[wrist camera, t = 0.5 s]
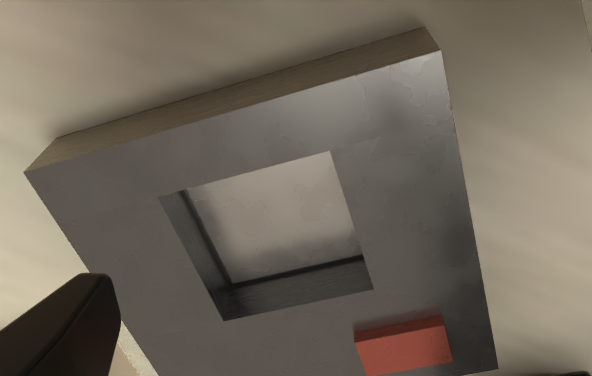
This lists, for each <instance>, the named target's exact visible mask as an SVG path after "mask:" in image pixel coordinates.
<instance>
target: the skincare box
mask: <svg viewBox="0 0 592 376" xmlns="http://www.w3.org/2000/svg"><path fill="white" fill-rule="evenodd" d="M581 3H582V8H583V12H584V17H585V22H586V26H587V31H588V36H589V40H590V45H591V50H592V0H581Z"/></svg>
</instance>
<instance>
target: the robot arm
mask: <svg viewBox="0 0 592 376" xmlns="http://www.w3.org/2000/svg"><path fill="white" fill-rule="evenodd" d="M120 326H121V313H120V309H119V305H118V301H117V297H116V293H115V289H114V286H113V282H112V279H111V277H110V276H109V275H108V274H105V273H81V274H78V275H77V276H75V277H74V278H72V279H71V280H69V281H68V282H67V283H65V284H64V285H63V286H61V287H60V288H58V289H57V290H56V291H54V292H53V293H52V294H50V295H49V296H47V297H46V298H45V299H43V300H42V301H40V302H39V303H38V304H36V305H35V306H34V307H32V308H31V309H29V310H28V311H27V312H25V313H24V314H23V315H21V316H20V317H18V318H17V319H16V320H14V321H13V322H11V323H10V324H9V325H7V326H6V327H5V328H3V329H2V330H0V376H109V372H110V368H111V364H112V360H113V356H114V352H115V348H116V344H117V340H118V336H119V332H120ZM575 376H591V375H588V374H581V375H575Z"/></svg>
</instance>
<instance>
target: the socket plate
mask: <svg viewBox="0 0 592 376" xmlns="http://www.w3.org/2000/svg"><path fill="white" fill-rule="evenodd" d="M23 173H24V174H25V176H26V177H27V179H28V180H29V182H30V183H31V185H32V186H33V188H34V189H35V191H36V192H37V194H38V195H39V197H40V198H41V200H42V201H43V203H44V204H45V206H46V207H47V209H48V210H49V212H50V213H51V215H52V216H53V218H54V219H55V221H56V222H57V224H58V225H59V227H60V228H61V230H62V231H63V233H64V234H65V236H66V237H67V239H68V240H69V242H70V243H71V245H72V246H73V248H74V249H75V251H76V252H77V254H78V255H79V257H80V258H81V260H82V261H83V263H84V264H85V266H86V267H87V269H88V270H89V272H90V273H105V274H108V275H109V276H110V277H111V279H112V282H113V286H114V289H115V293H116V297H117V301H118V305H119V309H120V313H121V320H122V321H123V323H124V324H125V326H126V327H127V329H128V330H129V332H130V333H131V335H132V336H133V338H134V339H135V341H136V342H137V344H138V345H139V347H140V348H141V350H142V351H143V353H144V354H145V356H146V357H147V359H148V360H149V362H150V363H151V365H152V366H153V368H154V369H155V371H156V372H157V374H158V375H159V376H461V375H467V374H473V373H478V372H484V371H490V370H495V369H499V368H498V363H497V357H496V352H495V346H494V340H493V335H492V329H491V324H490V318H489V313H488V307H487V302H486V296H485V291H484V285H483V280H482V274H481V269H480V263H479V257H478V252H477V246H476V241H475V235H474V230H473V224H472V219H471V213H470V208H469V202H468V197H467V191H466V186H465V180H464V175H463V169H462V163H461V158H460V152H459V147H458V141H457V136H456V130H455V125H454V119H453V114H452V108H451V103H450V97H449V92H448V86H447V81H446V75H445V69H444V64H443V58H442V53H441V50H440V48H439V47H438V45H437V44H436V42H435V41H434V39H433V38H432V36H431V35H430V34H429V32H428V31H427V29H426V28H425V27H423V28H419V29H416V30H413V31H409V32H406V33H403V34H399V35H396V36H393V37H389V38H386V39H383V40H380V41H376V42H373V43H370V44H366V45H363V46H360V47H356V48H353V49H350V50H346V51H343V52H340V53H336V54H333V55H330V56H327V57H323V58H320V59H317V60H313V61H310V62H307V63H303V64H300V65H297V66H293V67H290V68H287V69H284V70H280V71H277V72H274V73H270V74H267V75H264V76H260V77H257V78H254V79H250V80H247V81H244V82H241V83H237V84H234V85H231V86H227V87H224V88H221V89H217V90H214V91H211V92H207V93H204V94H201V95H197V96H194V97H191V98H188V99H184V100H181V101H178V102H174V103H171V104H168V105H164V106H161V107H158V108H154V109H151V110H148V111H145V112H141V113H138V114H135V115H131V116H128V117H125V118H121V119H118V120H115V121H111V122H108V123H105V124H101V125H98V126H95V127H92V128H88V129H85V130H82V131H78V132H75V133H72V134H68V135H65V136H62V137H58V138H56V139H55V140H54V141H53V142H52V143H51V144H50V145H49V146H48V147H47V148H46V149H45V150H44V151H43V152H42V153H41V154H40V155H39V156H38V158H37V159H36V160H35V161H34V162H33V163H32V164H31V165H30V166H29V167H28V168H27V169H26V170H25V171H24V172H23Z"/></svg>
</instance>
